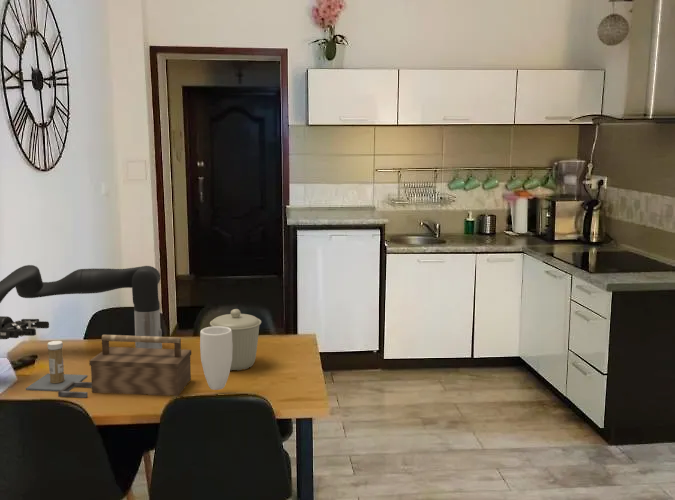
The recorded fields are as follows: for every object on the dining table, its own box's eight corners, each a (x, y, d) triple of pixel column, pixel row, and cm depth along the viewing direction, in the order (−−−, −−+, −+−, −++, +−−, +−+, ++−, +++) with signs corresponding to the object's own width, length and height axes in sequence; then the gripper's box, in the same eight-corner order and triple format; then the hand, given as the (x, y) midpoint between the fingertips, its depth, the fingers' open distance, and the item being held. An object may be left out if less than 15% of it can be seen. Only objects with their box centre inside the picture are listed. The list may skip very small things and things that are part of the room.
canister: (271, 366, 239) (271, 309, 236) (231, 378, 226) (231, 318, 223) (240, 355, 251) (239, 300, 248) (200, 366, 238) (199, 309, 235)
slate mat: (25, 390, 213) (25, 388, 213) (47, 375, 227) (47, 373, 227) (68, 391, 212) (67, 390, 212) (87, 376, 226) (87, 375, 226)
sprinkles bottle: (65, 382, 219) (63, 342, 217) (51, 384, 216) (48, 345, 214) (63, 378, 222) (60, 339, 220) (48, 380, 220) (46, 341, 218)
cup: (205, 404, 203) (204, 336, 200) (196, 393, 213) (195, 327, 209) (238, 398, 208) (237, 332, 205) (227, 388, 217) (226, 324, 214)
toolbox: (58, 396, 208) (55, 344, 205) (85, 375, 227) (83, 327, 224) (174, 401, 205) (172, 348, 203) (191, 380, 224) (190, 331, 221)
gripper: (-20, 322, 211) (29, 323, 210) (5, 311, 225) (51, 311, 224) (-18, 345, 212) (31, 346, 211) (7, 332, 226) (53, 333, 225)
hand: (42, 328), depth 218 cm, fingers open, 8 cm apart
